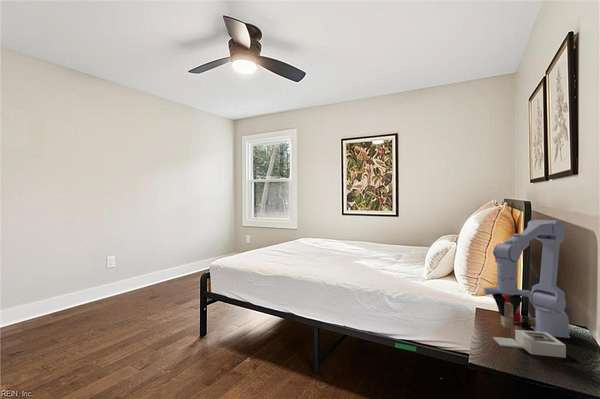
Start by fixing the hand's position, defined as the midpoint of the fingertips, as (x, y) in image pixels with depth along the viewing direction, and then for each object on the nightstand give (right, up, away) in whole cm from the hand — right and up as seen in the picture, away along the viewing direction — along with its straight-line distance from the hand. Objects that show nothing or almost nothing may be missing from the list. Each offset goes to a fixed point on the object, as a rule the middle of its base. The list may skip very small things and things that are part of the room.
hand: (506, 315), depth 105 cm
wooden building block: (0, -4, 0) cm, 4 cm away
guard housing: (+8, -10, -4) cm, 14 cm away
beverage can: (+17, -11, +21) cm, 29 cm away
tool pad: (0, -10, 0) cm, 10 cm away
